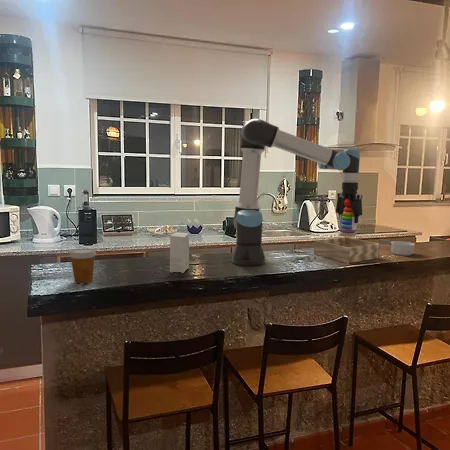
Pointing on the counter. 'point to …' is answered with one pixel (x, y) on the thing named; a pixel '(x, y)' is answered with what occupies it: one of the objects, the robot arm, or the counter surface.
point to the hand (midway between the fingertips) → (347, 228)
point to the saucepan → (401, 247)
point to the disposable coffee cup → (83, 264)
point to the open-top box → (346, 249)
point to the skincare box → (179, 252)
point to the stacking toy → (347, 221)
